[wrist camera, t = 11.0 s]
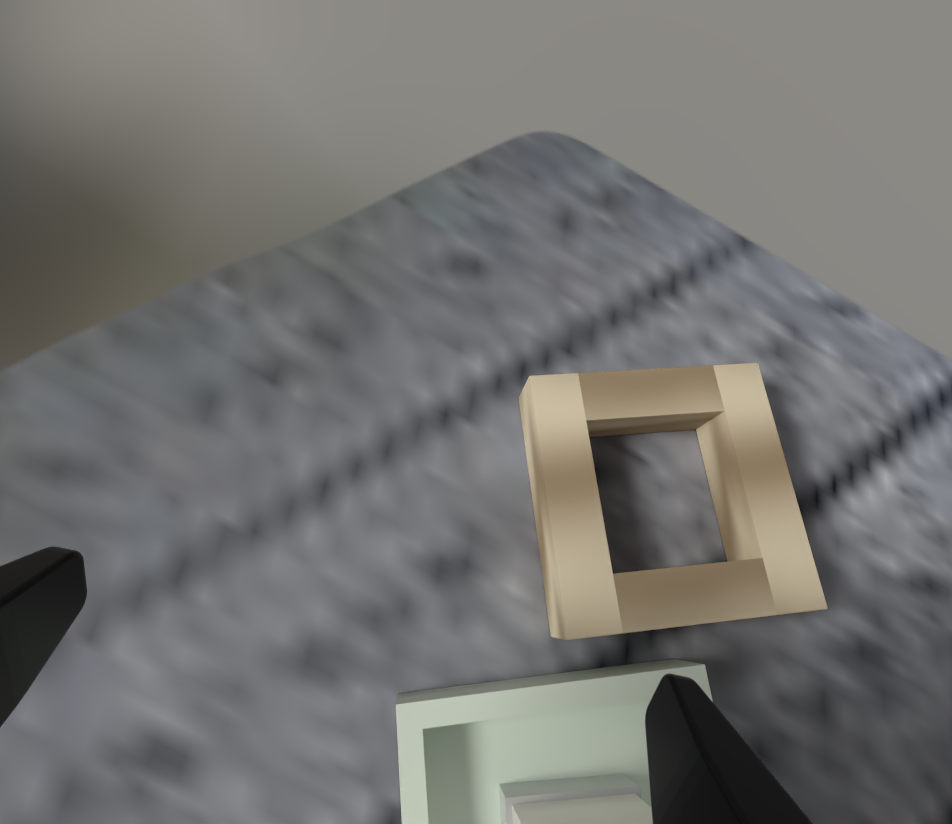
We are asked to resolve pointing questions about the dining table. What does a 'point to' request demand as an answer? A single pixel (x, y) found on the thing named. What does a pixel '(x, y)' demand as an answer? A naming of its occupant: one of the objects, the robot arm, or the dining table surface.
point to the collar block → (731, 484)
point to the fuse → (574, 801)
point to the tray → (524, 736)
